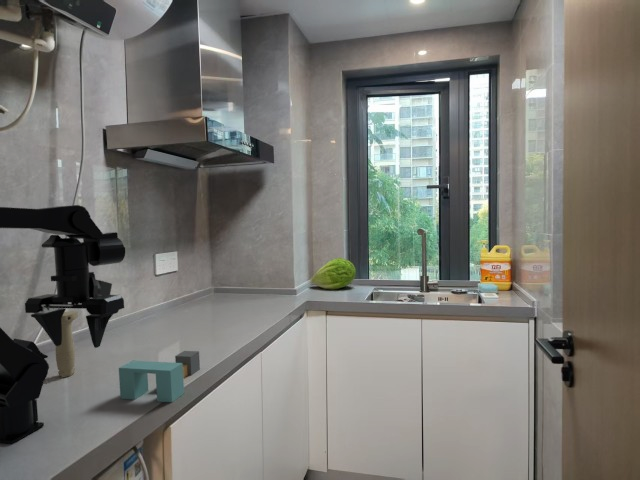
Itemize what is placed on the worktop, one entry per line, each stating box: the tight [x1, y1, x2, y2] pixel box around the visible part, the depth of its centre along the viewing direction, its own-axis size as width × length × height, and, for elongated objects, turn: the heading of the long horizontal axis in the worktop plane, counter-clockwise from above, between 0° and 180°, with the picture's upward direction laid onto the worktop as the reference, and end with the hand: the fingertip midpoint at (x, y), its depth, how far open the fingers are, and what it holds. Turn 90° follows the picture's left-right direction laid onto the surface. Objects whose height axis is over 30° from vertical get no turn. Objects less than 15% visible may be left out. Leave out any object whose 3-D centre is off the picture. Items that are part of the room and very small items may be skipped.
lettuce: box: [310, 257, 357, 290], centre depth 218 cm, size 15×25×16 cm
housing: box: [118, 360, 185, 403], centre depth 89 cm, size 4×12×6 cm, turn 77°
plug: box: [174, 350, 201, 379], centre depth 99 cm, size 14×4×4 cm, turn 167°
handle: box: [55, 310, 79, 378], centre depth 104 cm, size 5×6×15 cm
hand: (77, 346), depth 86 cm, fingers open, 9 cm apart
